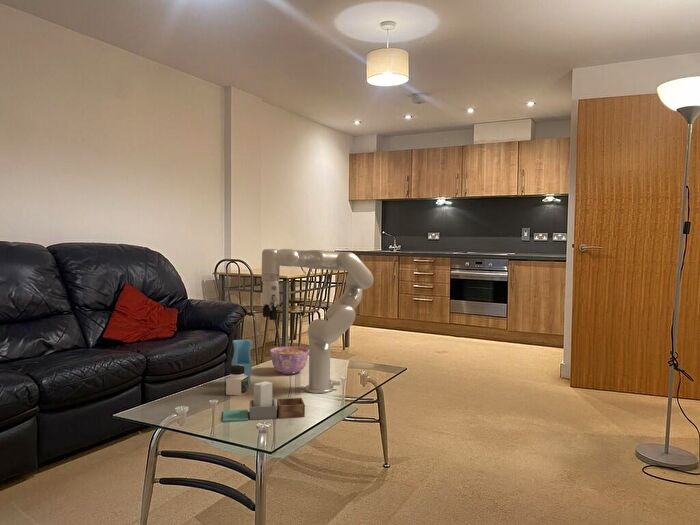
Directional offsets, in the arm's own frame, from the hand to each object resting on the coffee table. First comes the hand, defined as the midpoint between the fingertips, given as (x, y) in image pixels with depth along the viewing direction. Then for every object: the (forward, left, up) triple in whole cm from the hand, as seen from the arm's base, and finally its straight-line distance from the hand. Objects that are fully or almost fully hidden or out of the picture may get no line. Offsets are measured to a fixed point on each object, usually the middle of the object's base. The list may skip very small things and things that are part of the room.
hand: (269, 318), depth 222 cm
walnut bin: (-7, +26, -33) cm, 43 cm away
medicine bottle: (+13, -6, -33) cm, 36 cm away
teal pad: (+14, +26, -33) cm, 44 cm away
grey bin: (+4, +26, -33) cm, 42 cm away
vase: (+11, -21, -33) cm, 41 cm away
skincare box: (+4, +26, -33) cm, 42 cm away
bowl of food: (-13, -41, -33) cm, 54 cm away
